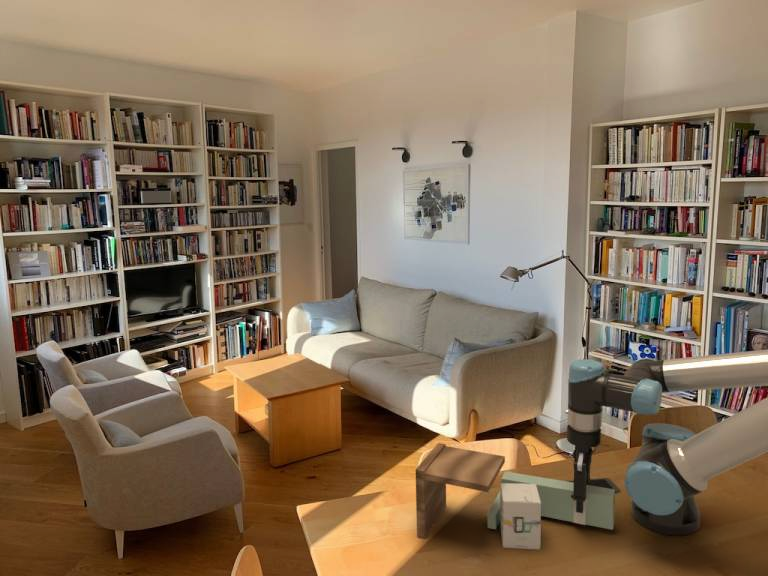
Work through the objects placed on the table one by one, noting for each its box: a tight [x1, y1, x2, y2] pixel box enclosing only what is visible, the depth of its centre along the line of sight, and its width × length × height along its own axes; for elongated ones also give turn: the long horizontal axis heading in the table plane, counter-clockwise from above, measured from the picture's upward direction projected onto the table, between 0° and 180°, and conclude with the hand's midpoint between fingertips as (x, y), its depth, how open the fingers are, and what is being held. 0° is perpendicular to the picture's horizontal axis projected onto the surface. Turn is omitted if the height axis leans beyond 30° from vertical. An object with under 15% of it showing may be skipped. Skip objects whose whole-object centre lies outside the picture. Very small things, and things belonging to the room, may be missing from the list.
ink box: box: [499, 482, 542, 550], centre depth 134 cm, size 9×8×12 cm
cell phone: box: [565, 477, 621, 494], centre depth 156 cm, size 7×14×1 cm, turn 95°
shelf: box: [415, 442, 506, 540], centre depth 138 cm, size 17×15×17 cm
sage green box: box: [486, 471, 616, 531], centre depth 138 cm, size 27×14×8 cm, turn 64°
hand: (580, 517), depth 140 cm, fingers closed on sage green box, 4 cm apart
